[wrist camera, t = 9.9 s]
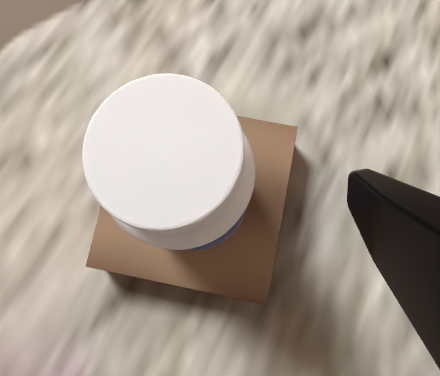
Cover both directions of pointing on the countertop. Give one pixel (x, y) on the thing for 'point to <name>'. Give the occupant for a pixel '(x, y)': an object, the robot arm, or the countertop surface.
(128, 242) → the walnut block
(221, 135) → the pill bottle
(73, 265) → the countertop surface
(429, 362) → the countertop surface
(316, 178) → the countertop surface
